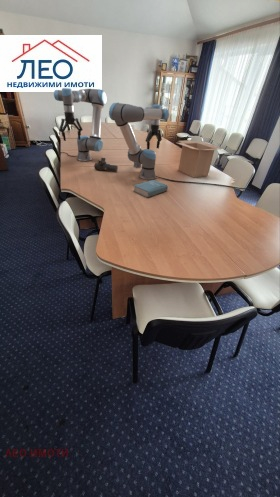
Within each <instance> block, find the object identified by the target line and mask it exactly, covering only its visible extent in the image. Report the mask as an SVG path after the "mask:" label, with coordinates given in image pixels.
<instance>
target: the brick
mask: <svg viewBox="0 0 280 497" xmlns="http://www.w3.org/2000/svg"><path fill="white" fill-rule="evenodd" d="M133 167H135V168H137V169H138V168H142V164H139V163H136V162H133Z"/></svg>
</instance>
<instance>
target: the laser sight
mask: <svg viewBox="0 0 280 497" xmlns="http://www.w3.org/2000/svg"><path fill="white" fill-rule="evenodd" d="M93 167H94V169H95V170H97V171H103V172H116V173H117V172H118V170H119V169H118V168H119V166H118V165H116V164H111V163H107V162H106V157H101V159H98V160H97V162H95V163H94V164H93Z"/></svg>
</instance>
